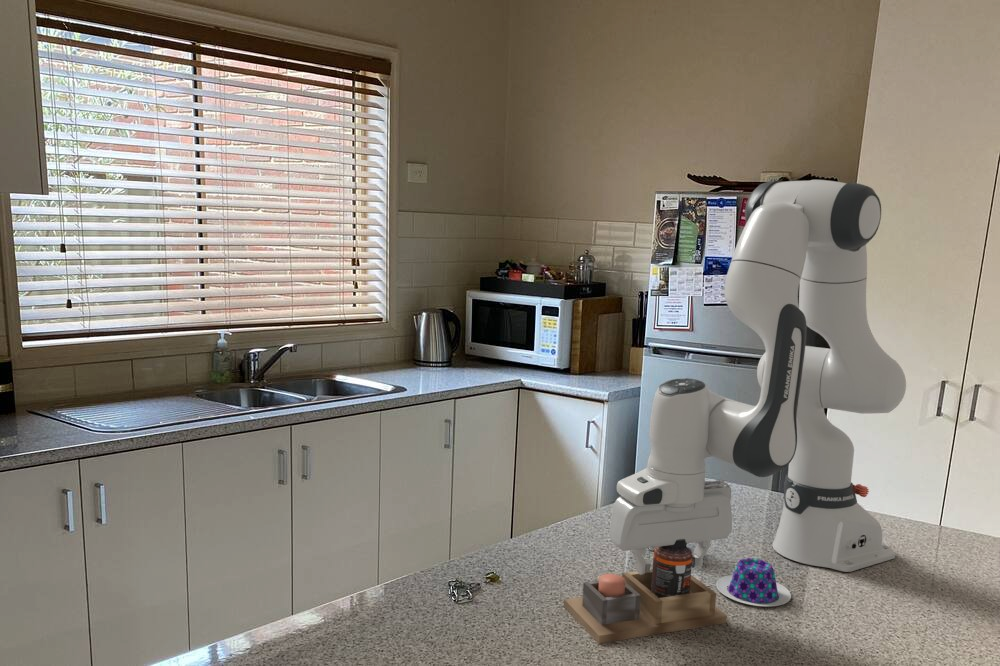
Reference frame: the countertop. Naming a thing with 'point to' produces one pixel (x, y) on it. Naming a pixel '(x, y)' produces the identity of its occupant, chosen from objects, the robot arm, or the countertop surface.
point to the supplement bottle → (671, 570)
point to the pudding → (754, 584)
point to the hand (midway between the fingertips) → (669, 569)
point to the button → (611, 585)
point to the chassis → (643, 609)
